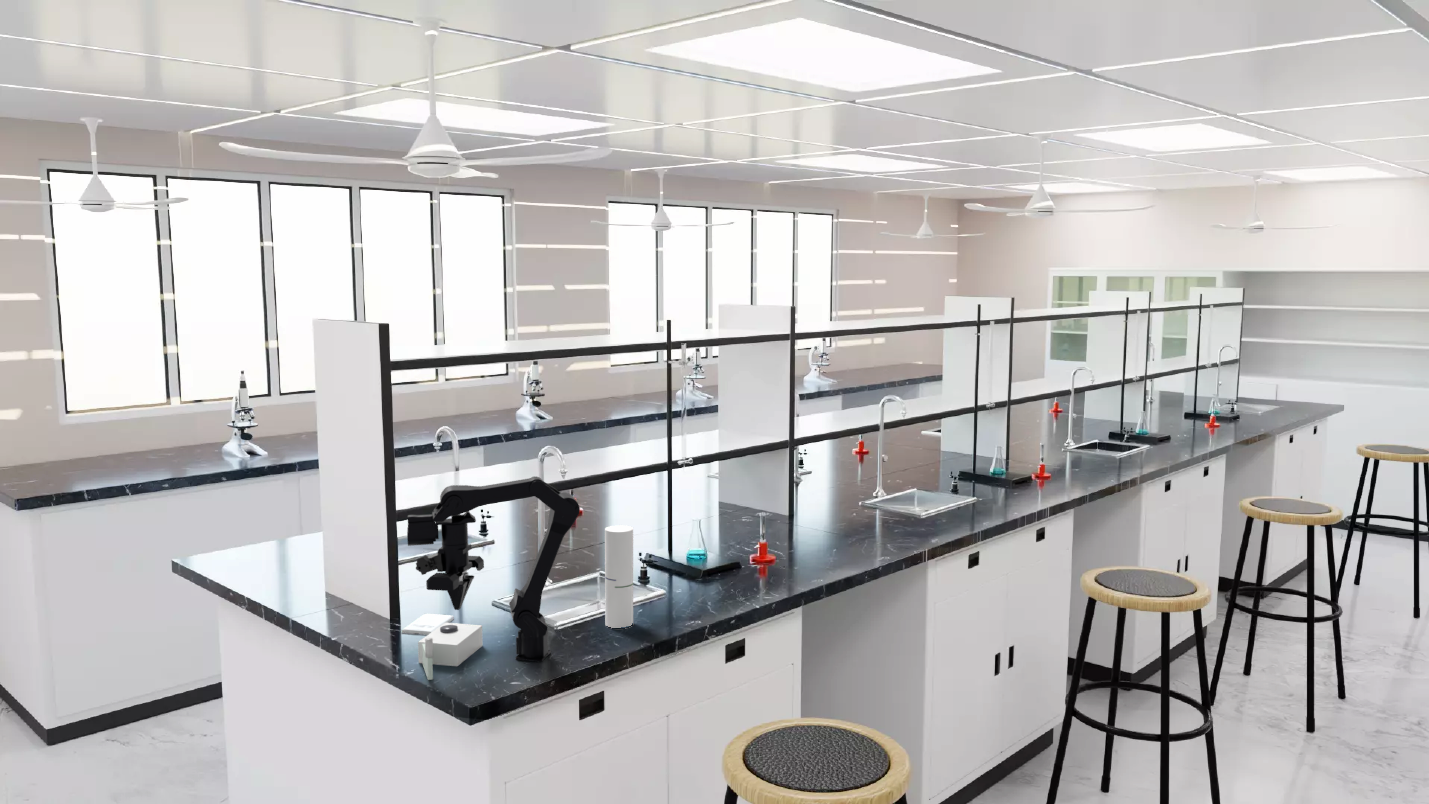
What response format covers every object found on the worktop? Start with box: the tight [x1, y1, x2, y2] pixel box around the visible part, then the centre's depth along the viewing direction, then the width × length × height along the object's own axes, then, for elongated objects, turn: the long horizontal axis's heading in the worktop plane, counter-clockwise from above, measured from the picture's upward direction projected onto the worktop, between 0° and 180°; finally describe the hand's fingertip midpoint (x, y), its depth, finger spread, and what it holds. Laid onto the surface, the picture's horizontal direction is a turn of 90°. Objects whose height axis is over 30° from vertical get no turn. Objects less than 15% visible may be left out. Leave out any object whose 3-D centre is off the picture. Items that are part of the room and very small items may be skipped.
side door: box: [421, 638, 434, 681], centre depth 223 cm, size 10×2×9 cm, turn 23°
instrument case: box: [417, 622, 484, 667], centre depth 235 cm, size 10×14×6 cm
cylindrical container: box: [604, 524, 634, 629], centre depth 256 cm, size 7×7×25 cm
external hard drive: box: [401, 613, 455, 636], centre depth 255 cm, size 2×8×12 cm
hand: (457, 609), depth 228 cm, fingers closed
